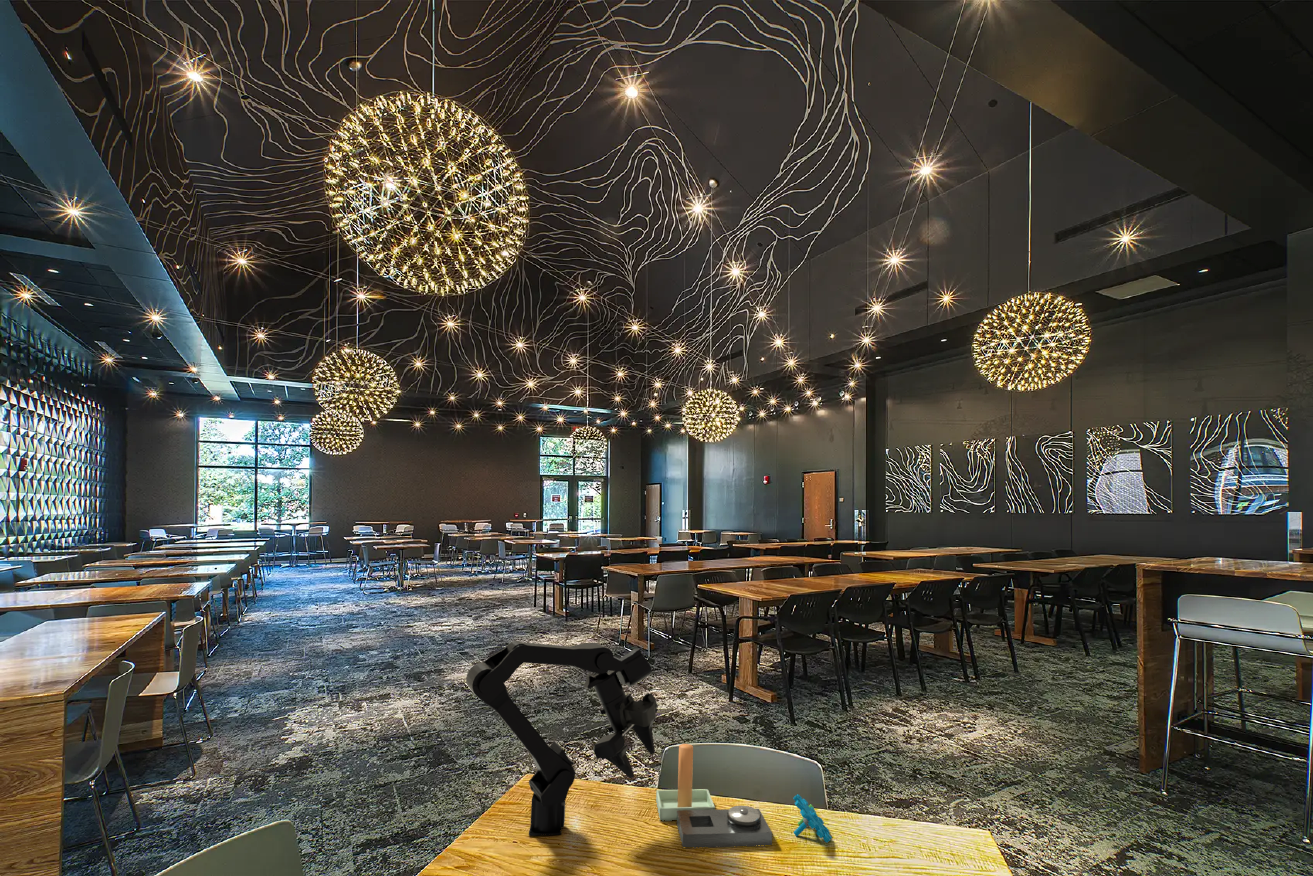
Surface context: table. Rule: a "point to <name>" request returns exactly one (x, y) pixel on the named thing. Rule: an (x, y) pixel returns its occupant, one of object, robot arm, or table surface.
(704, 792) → the tray
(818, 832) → the gear
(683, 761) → the pin
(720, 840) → the plate
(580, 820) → the table surface
